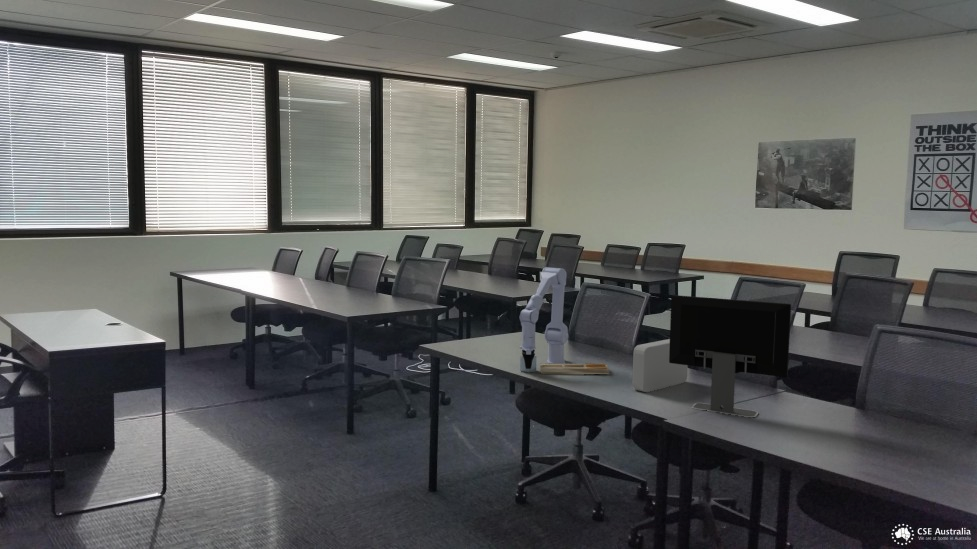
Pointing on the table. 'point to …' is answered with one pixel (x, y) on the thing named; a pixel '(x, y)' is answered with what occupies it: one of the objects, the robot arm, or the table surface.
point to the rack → (574, 368)
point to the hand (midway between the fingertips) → (528, 367)
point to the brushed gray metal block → (523, 368)
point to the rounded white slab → (656, 367)
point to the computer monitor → (729, 342)
